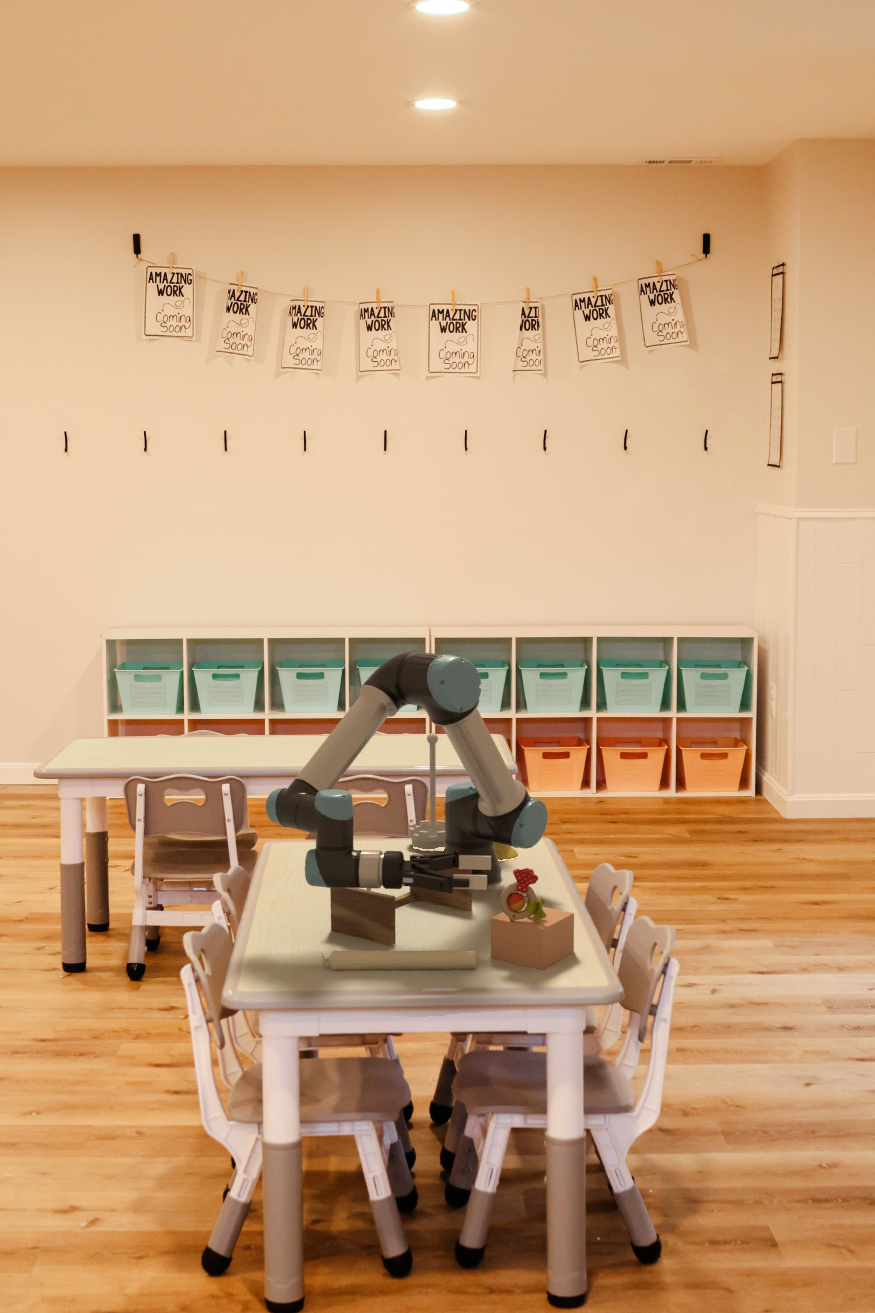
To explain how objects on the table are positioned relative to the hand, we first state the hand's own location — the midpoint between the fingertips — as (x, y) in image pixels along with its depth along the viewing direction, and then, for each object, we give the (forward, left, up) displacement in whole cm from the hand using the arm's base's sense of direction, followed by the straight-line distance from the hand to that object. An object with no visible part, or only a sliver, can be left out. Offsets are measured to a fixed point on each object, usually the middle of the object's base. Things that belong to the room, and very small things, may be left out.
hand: (489, 872), depth 259 cm
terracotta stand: (-4, +7, -17) cm, 19 cm away
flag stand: (-58, -57, -17) cm, 83 cm away
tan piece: (+17, -10, -17) cm, 26 cm away
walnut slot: (-6, -27, -17) cm, 32 cm away
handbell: (-60, -39, -17) cm, 74 cm away
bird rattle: (0, +8, -9) cm, 12 cm away
